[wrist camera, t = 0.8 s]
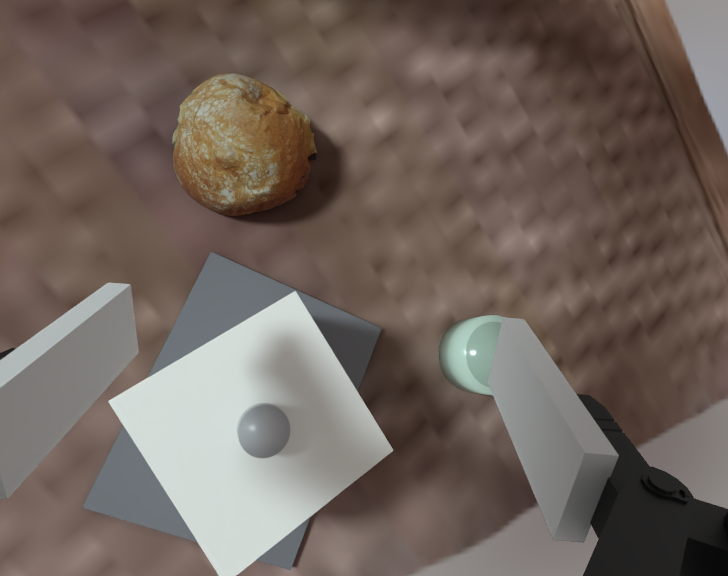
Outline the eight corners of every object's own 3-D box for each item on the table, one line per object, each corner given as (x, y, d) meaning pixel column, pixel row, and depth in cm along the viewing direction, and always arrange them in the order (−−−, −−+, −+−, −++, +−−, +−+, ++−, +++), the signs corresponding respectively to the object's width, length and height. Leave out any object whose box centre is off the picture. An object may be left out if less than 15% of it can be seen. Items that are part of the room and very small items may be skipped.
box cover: (143, 387, 30) (101, 403, 19) (274, 309, 33) (299, 287, 23) (223, 514, 30) (225, 597, 20) (344, 424, 34) (402, 454, 23)
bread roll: (200, 116, 38) (140, 57, 30) (319, 98, 37) (289, 32, 29) (203, 231, 37) (143, 201, 29) (327, 216, 35) (299, 181, 28)
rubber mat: (211, 253, 33) (211, 251, 33) (379, 328, 36) (381, 328, 36) (84, 505, 28) (82, 507, 28) (289, 566, 32) (290, 570, 31)
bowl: (447, 308, 38) (474, 302, 34) (505, 336, 40) (537, 333, 36) (424, 375, 37) (449, 377, 33) (485, 402, 38) (517, 407, 34)
